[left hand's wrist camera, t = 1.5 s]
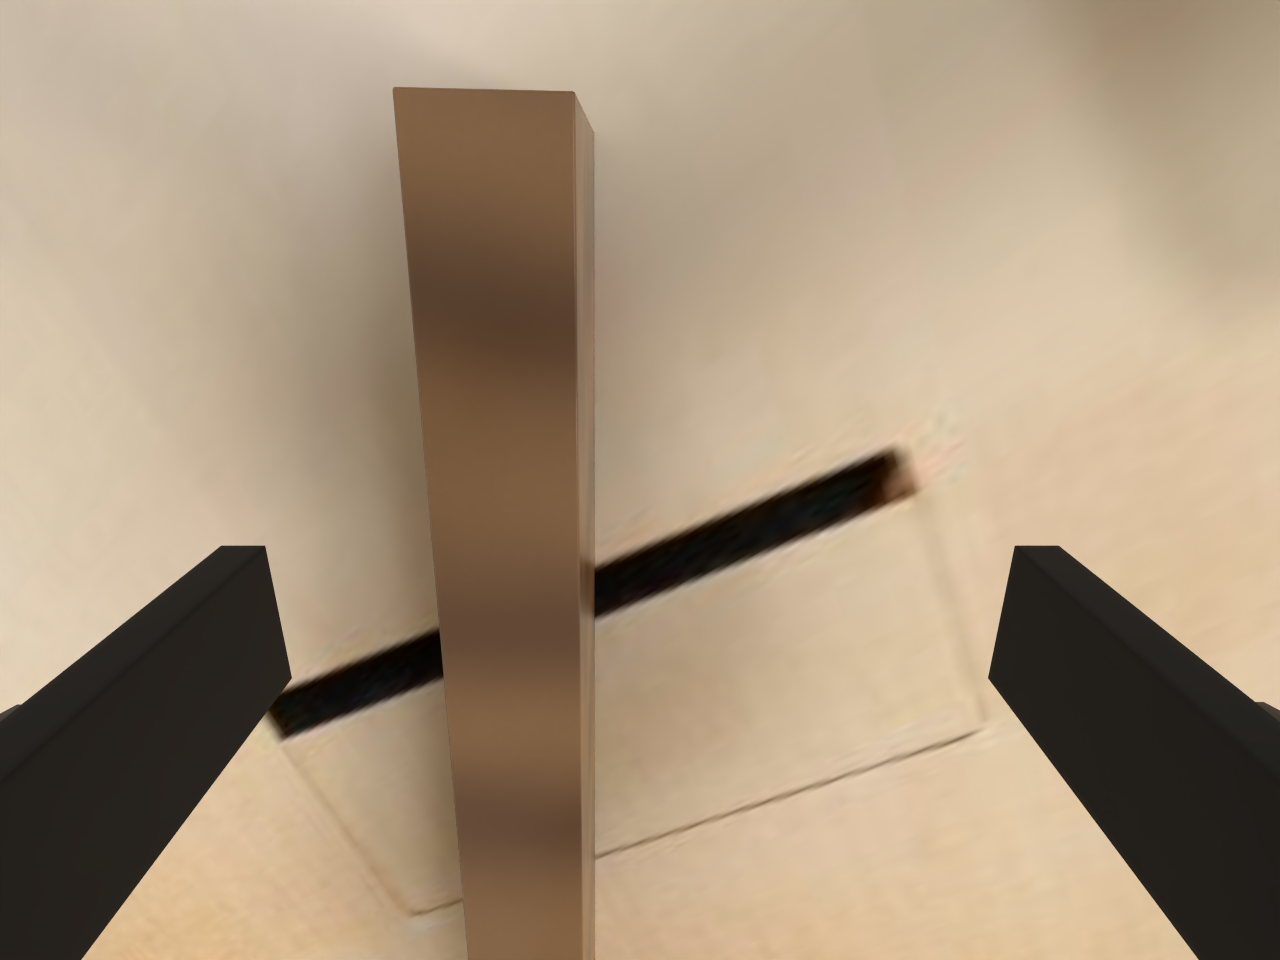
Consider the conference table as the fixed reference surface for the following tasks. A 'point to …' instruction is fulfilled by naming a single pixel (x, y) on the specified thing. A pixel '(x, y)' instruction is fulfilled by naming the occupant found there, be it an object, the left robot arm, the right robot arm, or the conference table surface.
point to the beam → (510, 492)
